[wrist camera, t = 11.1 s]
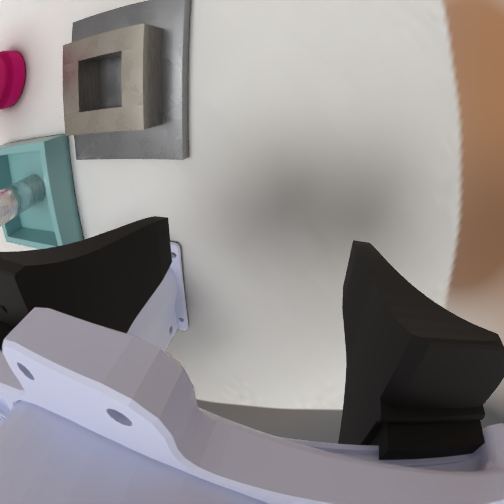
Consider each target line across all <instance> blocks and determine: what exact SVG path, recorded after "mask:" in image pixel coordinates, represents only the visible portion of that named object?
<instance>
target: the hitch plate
mask: <svg viewBox="0 0 504 504" xmlns="http://www.w3.org/2000/svg"><path fill="white" fill-rule="evenodd" d="M190 8H191V0H149V1H144V2H140V3H136V4H132V5H128V6H124V7H120V8H117V9H113V10H110V11H106V12H103V13H100V14H97V15H94V16H91V17H88V18H85V19H82V20H79V21H77V22H74V23H73V30H72V43H69V44H66V45H63V102H64V120H65V133H66V136H69V135H74V139H75V149H76V159H77V160H86V159H176V160H183V159H185V158H187V157H188V57H189V28H190Z"/></svg>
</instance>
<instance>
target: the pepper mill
mask: <svg viewBox="0 0 504 504" xmlns="http://www.w3.org/2000/svg"><path fill="white" fill-rule="evenodd" d="M24 82H25V63H24V60H23V57H22V56H21V54H20V53H19V52H17V51H14V50H13V51H2V52H0V110H1V109H5V108H8V107H11V106H12V105H14V104H15V103H16V101H17V100H18V99H19V97H20V95H21V93H22V90H23V87H24Z"/></svg>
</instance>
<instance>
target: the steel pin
mask: <svg viewBox="0 0 504 504" xmlns="http://www.w3.org/2000/svg"><path fill="white" fill-rule="evenodd" d="M44 197H45V188H44V185H43V182H42V180H41V179H40V177H39V176H37V175H36V174H32V175H30V176H27V177H25V178H23V179H21V180H19V181H17V182H15V183H13V184H11V185H9V186H7V187H5V188H3V189H1V190H0V226H2V225H3V224H5V223H6V222H8V221H9V220H11V219H13V218H14V217H16V216H18V215H19V214H21V213H23V212H24V211H26V210H28V209H29V208H31V207H33V206H35V205H36V204H38V203H40V202H42V201H43V199H44Z"/></svg>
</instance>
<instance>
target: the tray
mask: <svg viewBox="0 0 504 504" xmlns="http://www.w3.org/2000/svg"><path fill="white" fill-rule="evenodd" d="M32 174H36V175H37V176H39V177H40V179H41V180H42V182H43V185H44V188H45V197H44V199H43V201H42V202H40V203H38V204H36V205H35V206H33V207H31V208H29V209H28V210H26V211H24V212H23V213H21V214H19V215H18V216H16V217H14V218H13V219H11V220H9V221H8V222H6V223H5V224H3V225H2V228H3V231H4V235H5V238H6V241H7V242H11V243H15V244H19V245H24V246H28V247H33V248H37V249H46V248H51V247H56V246H61V245H66V244H70V243H74V242H78V241H81V240H84V238H83V233H82V228H81V223H80V218H79V213H78V208H77V202H76V196H75V190H74V184H73V177H72V170H71V162H70V153H69V144H68V136H66V134H61V135H53V136H46V137H40V138H33V139H27V140H21V141H16V142H10V143H6V144H3V145H1V146H0V190H1V189H3V188H5V187H7V186H9V185H11V184H13V183H15V182H17V181H19V180H21V179H23V178H25V177H27V176H30V175H32Z"/></svg>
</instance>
